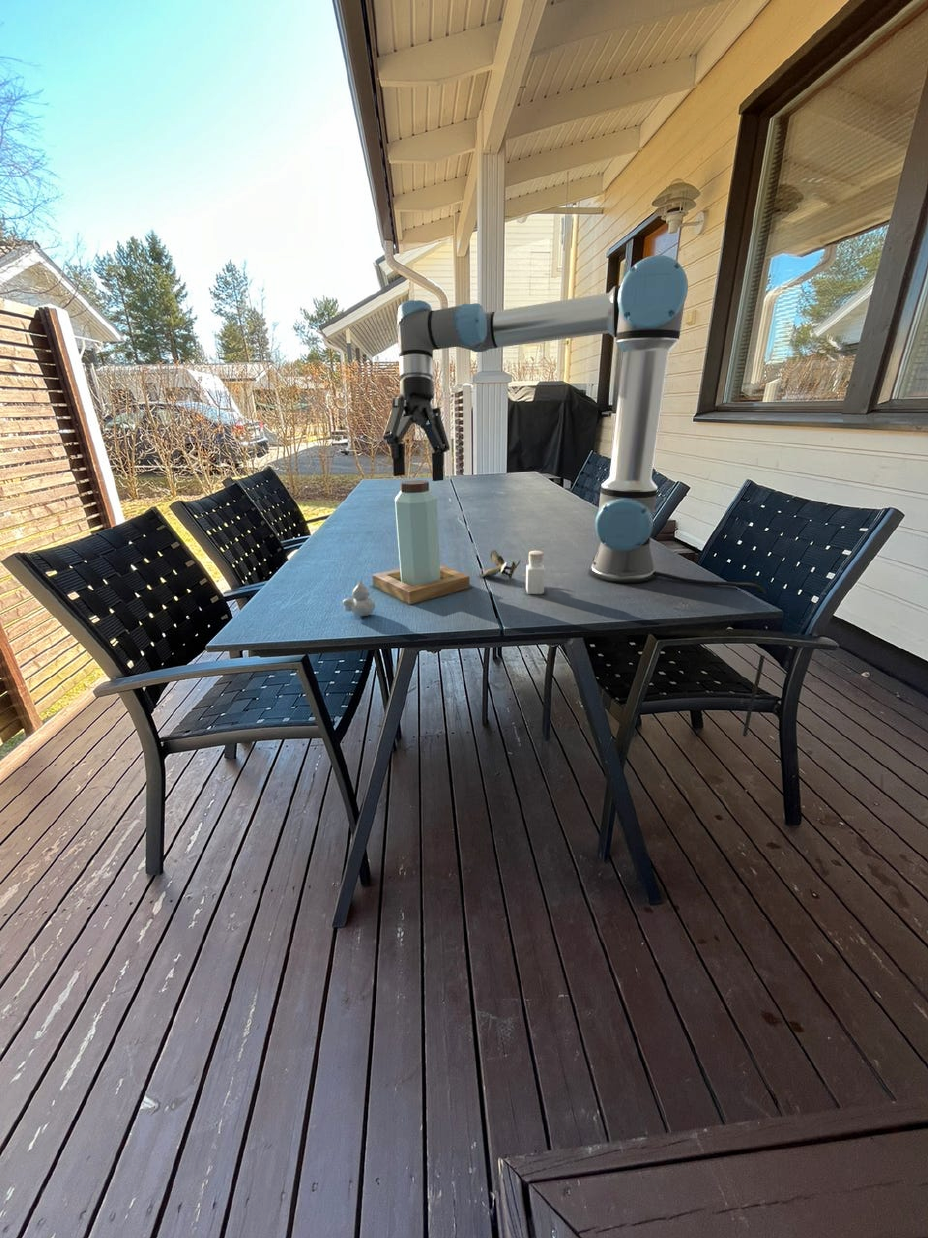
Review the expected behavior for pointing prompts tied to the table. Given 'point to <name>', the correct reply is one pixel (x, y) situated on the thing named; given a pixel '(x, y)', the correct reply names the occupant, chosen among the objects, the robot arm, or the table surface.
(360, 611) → the white rounded figurine
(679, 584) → the table surface
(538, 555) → the pepper shaker
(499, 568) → the eagle figurine
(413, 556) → the water bottle
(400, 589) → the frame
